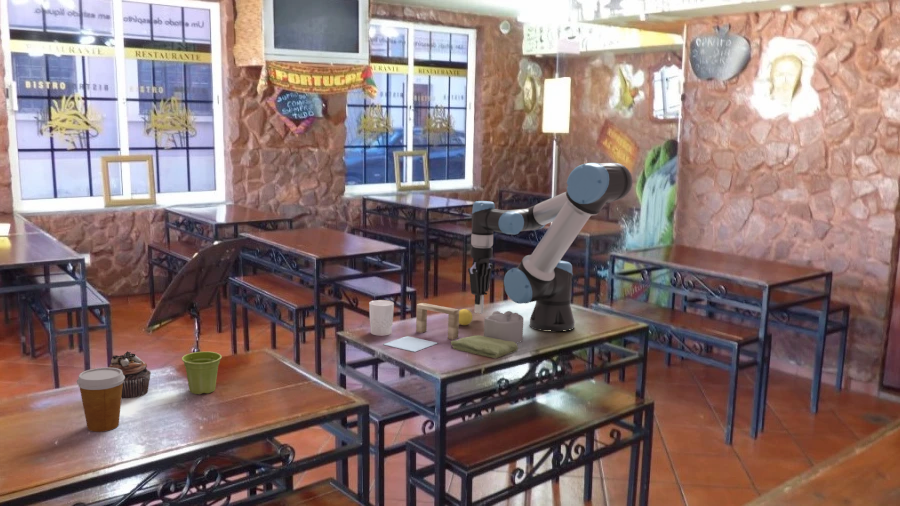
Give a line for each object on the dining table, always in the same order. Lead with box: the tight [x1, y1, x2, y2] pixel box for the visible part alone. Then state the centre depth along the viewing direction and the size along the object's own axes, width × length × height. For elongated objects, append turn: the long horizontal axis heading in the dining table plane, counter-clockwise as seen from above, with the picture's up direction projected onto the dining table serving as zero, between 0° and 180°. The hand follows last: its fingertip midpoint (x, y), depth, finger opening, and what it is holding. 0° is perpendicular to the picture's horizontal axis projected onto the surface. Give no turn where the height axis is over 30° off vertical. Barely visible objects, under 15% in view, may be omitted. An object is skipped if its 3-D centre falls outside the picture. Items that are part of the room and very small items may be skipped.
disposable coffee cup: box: [76, 366, 125, 433], centre depth 169 cm, size 10×10×12 cm
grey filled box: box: [483, 310, 524, 344], centre depth 248 cm, size 10×13×9 cm
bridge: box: [415, 302, 460, 341], centre depth 251 cm, size 3×14×9 cm, turn 56°
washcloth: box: [450, 335, 519, 359], centre depth 237 cm, size 13×18×3 cm
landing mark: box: [382, 335, 439, 353], centre depth 240 cm, size 12×12×1 cm
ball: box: [459, 308, 473, 326], centre depth 264 cm, size 6×6×6 cm
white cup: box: [368, 299, 395, 337], centre depth 251 cm, size 8×8×10 cm
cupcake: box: [108, 351, 152, 400], centre depth 190 cm, size 10×10×10 cm
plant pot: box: [181, 351, 223, 395], centre depth 194 cm, size 9×9×9 cm
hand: (478, 312), depth 272 cm, fingers closed
